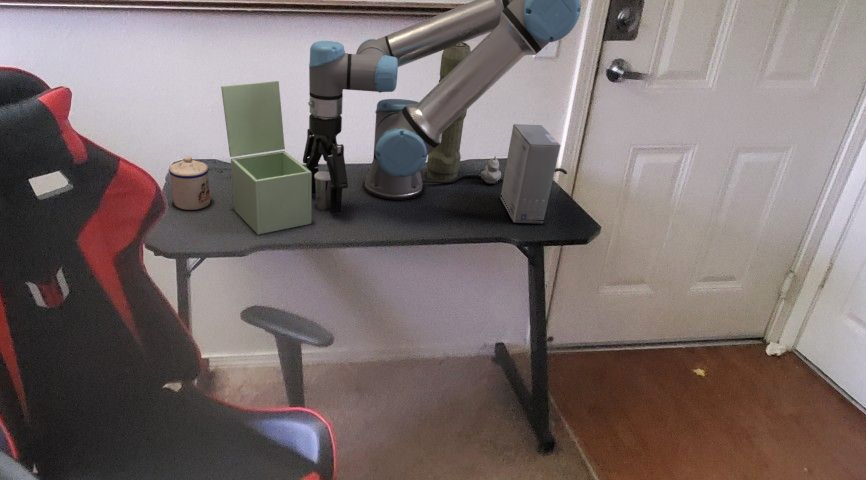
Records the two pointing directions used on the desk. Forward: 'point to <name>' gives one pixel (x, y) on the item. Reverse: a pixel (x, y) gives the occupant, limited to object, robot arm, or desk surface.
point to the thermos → (447, 153)
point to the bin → (271, 191)
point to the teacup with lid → (190, 184)
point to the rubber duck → (491, 171)
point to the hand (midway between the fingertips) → (323, 202)
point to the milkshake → (323, 189)
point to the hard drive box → (529, 172)
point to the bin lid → (253, 118)
